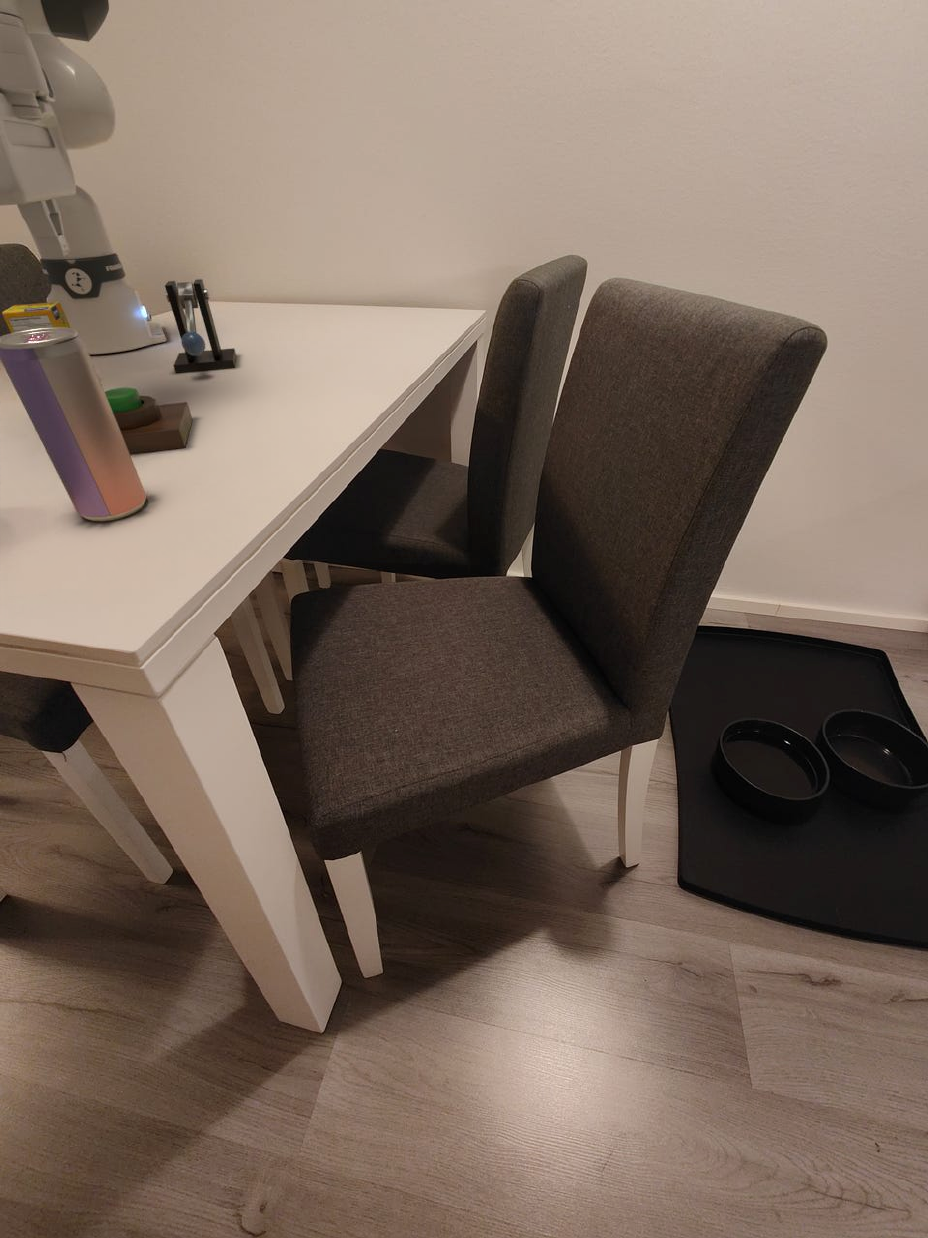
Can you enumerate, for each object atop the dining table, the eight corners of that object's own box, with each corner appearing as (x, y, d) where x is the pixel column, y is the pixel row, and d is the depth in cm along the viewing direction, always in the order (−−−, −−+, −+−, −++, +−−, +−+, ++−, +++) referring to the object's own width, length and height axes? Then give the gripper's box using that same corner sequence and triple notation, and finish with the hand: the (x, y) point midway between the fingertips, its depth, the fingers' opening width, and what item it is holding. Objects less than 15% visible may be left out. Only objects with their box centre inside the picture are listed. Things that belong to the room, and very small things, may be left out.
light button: (108, 404, 66) (102, 389, 65) (145, 401, 67) (139, 385, 66) (101, 415, 63) (95, 399, 62) (140, 411, 64) (134, 395, 63)
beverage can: (76, 529, 50) (-17, 347, 41) (82, 501, 55) (-1, 331, 45) (148, 515, 52) (75, 338, 43) (149, 489, 57) (82, 323, 47)
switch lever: (208, 359, 85) (202, 341, 83) (186, 361, 85) (179, 343, 82) (200, 297, 90) (194, 278, 87) (179, 298, 89) (172, 280, 86)
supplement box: (93, 380, 87) (60, 300, 81) (86, 391, 83) (50, 308, 76) (50, 385, 86) (13, 304, 79) (40, 396, 82) (0, 311, 75)
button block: (90, 430, 70) (76, 397, 68) (192, 419, 73) (182, 386, 70) (70, 461, 63) (53, 425, 60) (185, 447, 65) (173, 412, 63)
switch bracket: (234, 367, 92) (213, 283, 84) (175, 373, 90) (148, 288, 82) (236, 355, 98) (216, 276, 90) (181, 360, 96) (155, 280, 88)
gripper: (-20, 49, 41) (68, 268, 50) (53, 79, 57) (111, 243, 65) (-120, 47, 40) (-12, 273, 49) (-18, 79, 55) (50, 247, 64)
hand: (58, 256), depth 57 cm, fingers closed
